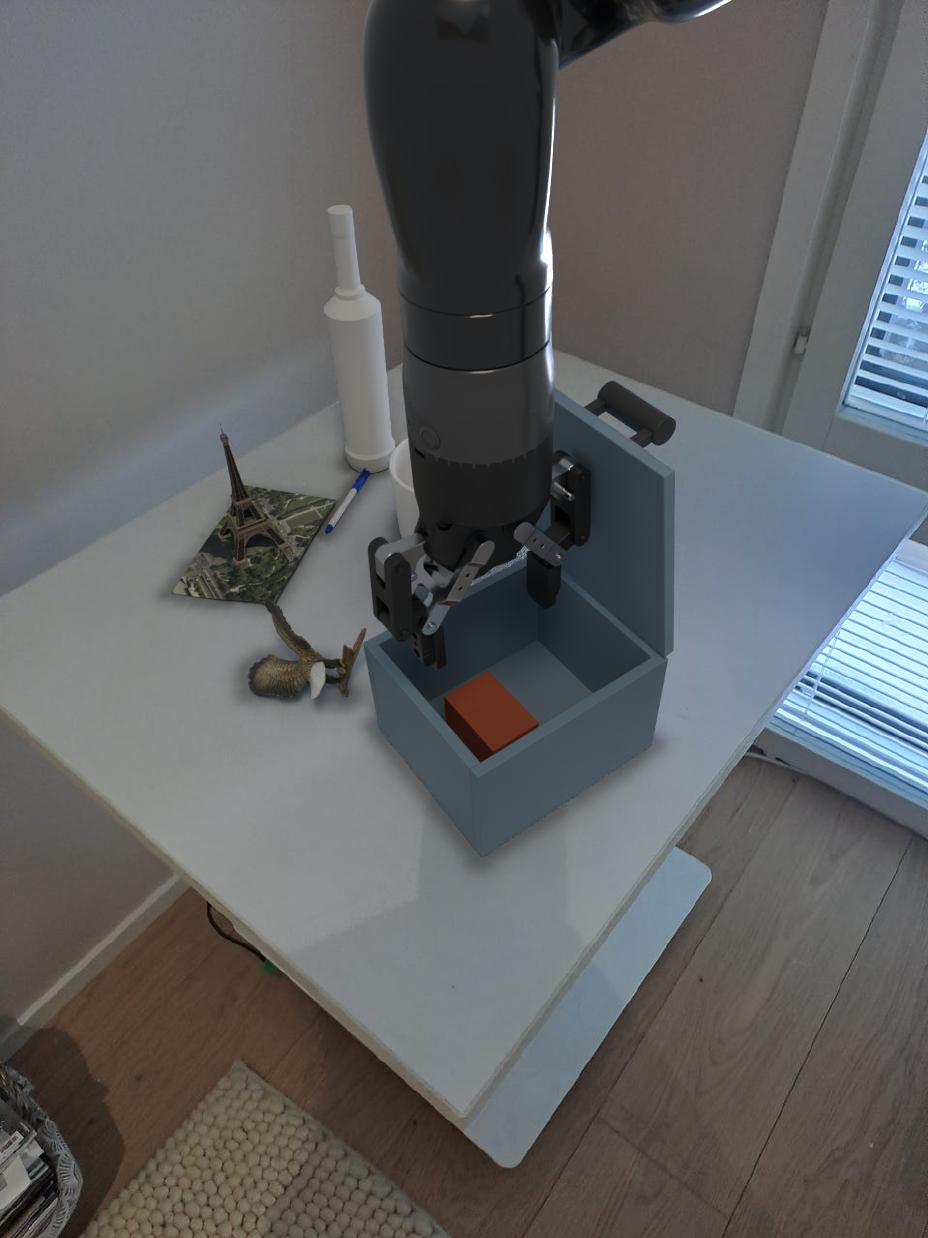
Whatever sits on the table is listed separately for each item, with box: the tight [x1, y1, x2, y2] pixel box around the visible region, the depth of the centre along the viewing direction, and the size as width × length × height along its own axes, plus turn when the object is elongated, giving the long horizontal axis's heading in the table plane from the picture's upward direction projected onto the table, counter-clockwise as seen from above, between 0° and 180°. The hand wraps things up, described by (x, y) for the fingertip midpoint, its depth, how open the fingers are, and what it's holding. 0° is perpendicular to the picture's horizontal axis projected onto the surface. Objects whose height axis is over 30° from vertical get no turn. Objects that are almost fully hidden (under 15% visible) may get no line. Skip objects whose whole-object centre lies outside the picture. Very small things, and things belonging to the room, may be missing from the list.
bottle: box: [323, 204, 396, 474], centre depth 83 cm, size 5×5×25 cm
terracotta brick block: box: [444, 671, 539, 763], centre depth 65 cm, size 6×4×4 cm, turn 35°
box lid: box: [535, 380, 677, 657], centre depth 57 cm, size 16×14×5 cm
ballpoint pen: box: [324, 468, 371, 535], centre depth 88 cm, size 10×1×1 cm, turn 162°
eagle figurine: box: [247, 597, 367, 700], centre depth 70 cm, size 8×7×9 cm
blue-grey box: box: [362, 556, 669, 858], centre depth 64 cm, size 16×14×10 cm
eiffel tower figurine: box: [171, 423, 337, 604], centre depth 79 cm, size 15×10×13 cm
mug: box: [388, 437, 419, 539], centre depth 81 cm, size 13×10×8 cm
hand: (487, 629), depth 57 cm, fingers open, 8 cm apart
